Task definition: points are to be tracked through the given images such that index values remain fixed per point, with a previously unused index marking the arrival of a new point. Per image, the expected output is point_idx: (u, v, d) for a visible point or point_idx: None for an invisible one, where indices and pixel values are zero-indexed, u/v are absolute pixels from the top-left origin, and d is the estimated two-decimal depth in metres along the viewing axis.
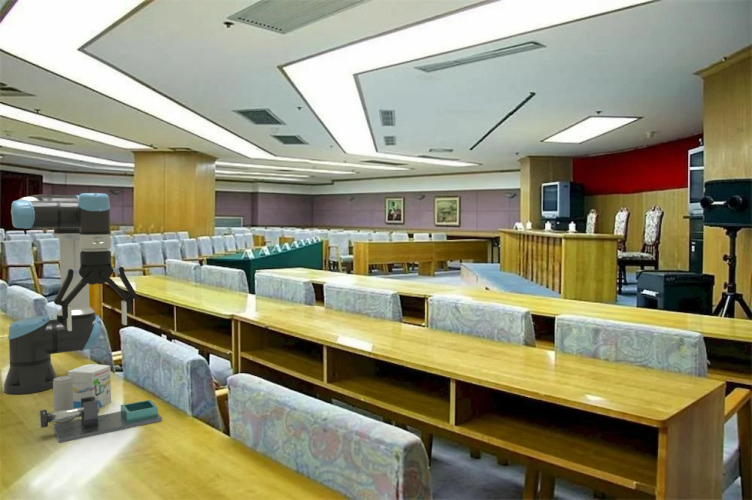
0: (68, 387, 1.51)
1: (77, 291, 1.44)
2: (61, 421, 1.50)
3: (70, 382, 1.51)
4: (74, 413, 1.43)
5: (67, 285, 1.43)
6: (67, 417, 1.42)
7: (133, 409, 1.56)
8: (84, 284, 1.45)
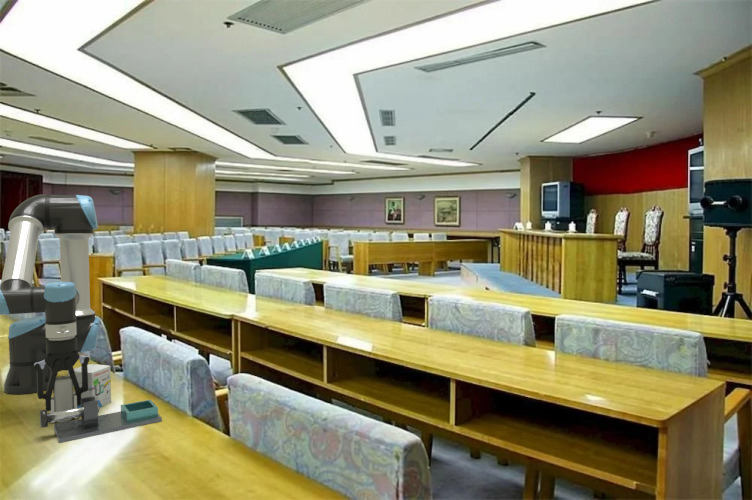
0: (68, 387, 1.51)
1: (53, 382, 1.49)
2: (61, 421, 1.50)
3: (70, 382, 1.51)
4: (74, 413, 1.43)
5: (41, 378, 1.48)
6: (67, 417, 1.42)
7: (133, 409, 1.56)
8: (55, 373, 1.49)
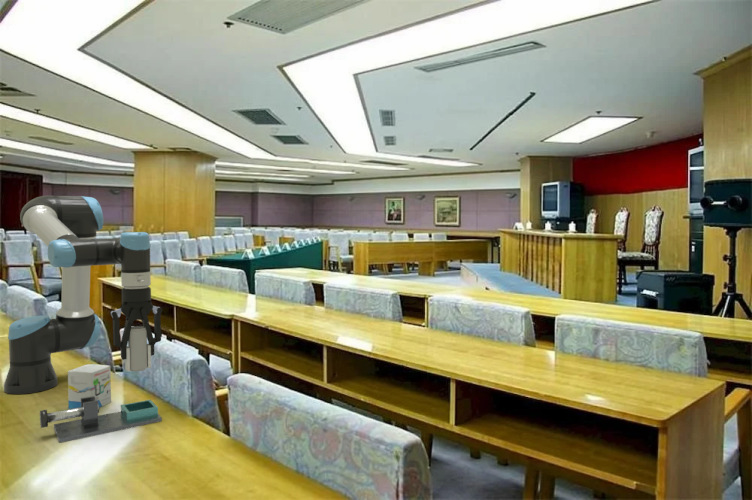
0: (143, 336, 1.51)
1: (128, 330, 1.50)
2: (136, 370, 1.51)
3: (145, 331, 1.52)
4: (74, 413, 1.43)
5: (117, 326, 1.48)
6: (67, 417, 1.42)
7: (133, 409, 1.56)
8: (131, 322, 1.50)
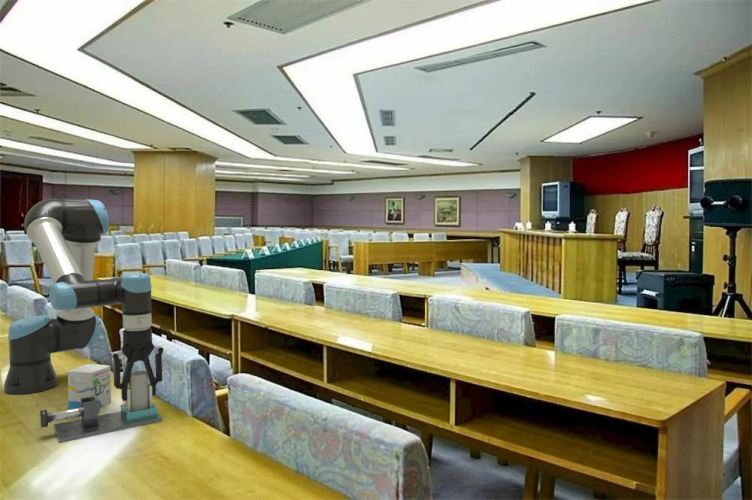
0: (144, 382, 1.52)
1: (129, 372, 1.51)
2: None
3: (145, 377, 1.53)
4: (74, 413, 1.43)
5: (118, 368, 1.49)
6: (67, 417, 1.42)
7: None
8: (132, 364, 1.51)
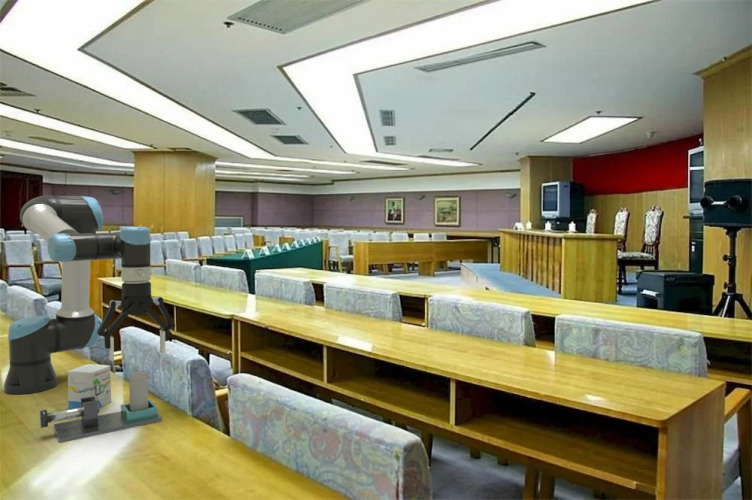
0: (144, 382, 1.52)
1: (119, 322, 1.49)
2: None
3: (146, 377, 1.53)
4: (74, 413, 1.43)
5: (110, 317, 1.47)
6: (67, 417, 1.42)
7: None
8: (126, 315, 1.49)
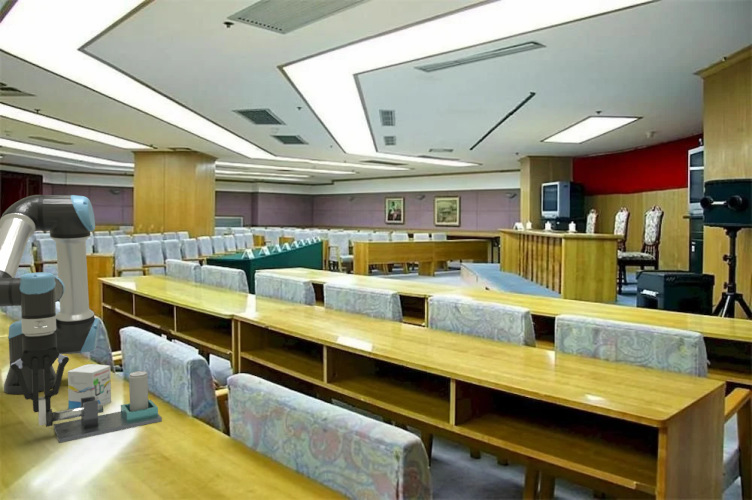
0: (144, 382, 1.52)
1: (36, 381, 1.37)
2: None
3: (146, 377, 1.53)
4: (79, 412, 1.44)
5: (22, 378, 1.36)
6: (72, 416, 1.43)
7: None
8: (36, 372, 1.37)
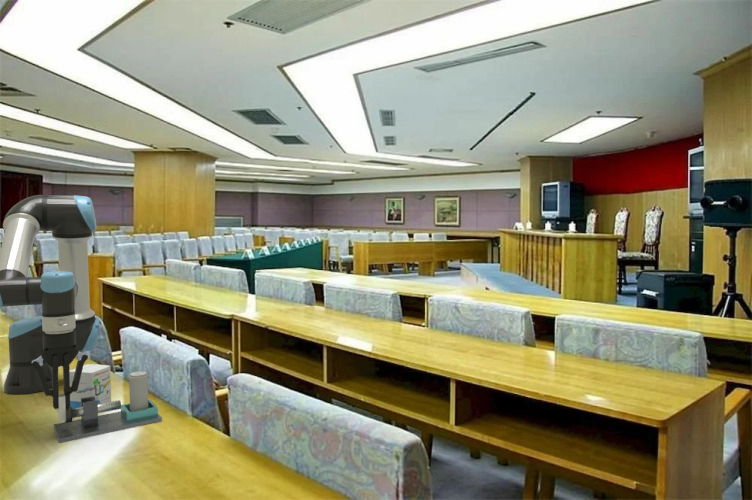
0: (144, 382, 1.52)
1: (56, 378, 1.40)
2: None
3: (146, 377, 1.53)
4: None
5: (43, 375, 1.38)
6: None
7: None
8: (56, 369, 1.40)
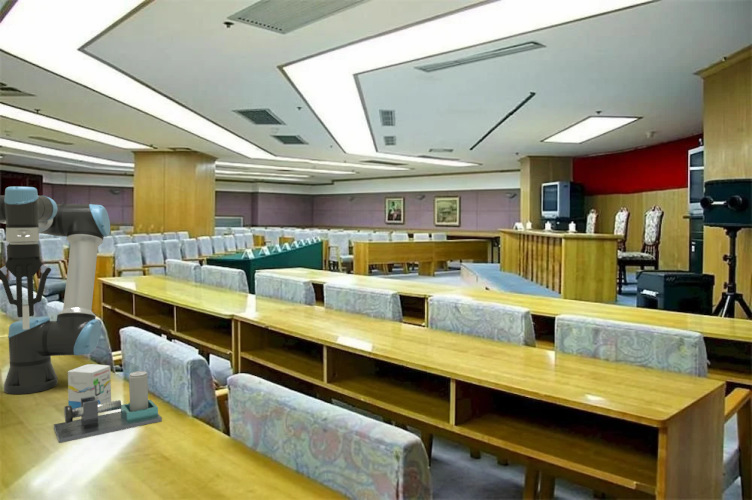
0: (144, 382, 1.52)
1: (20, 287, 1.47)
2: None
3: (146, 377, 1.53)
4: (98, 408, 1.46)
5: (7, 284, 1.45)
6: None
7: None
8: (20, 279, 1.47)
